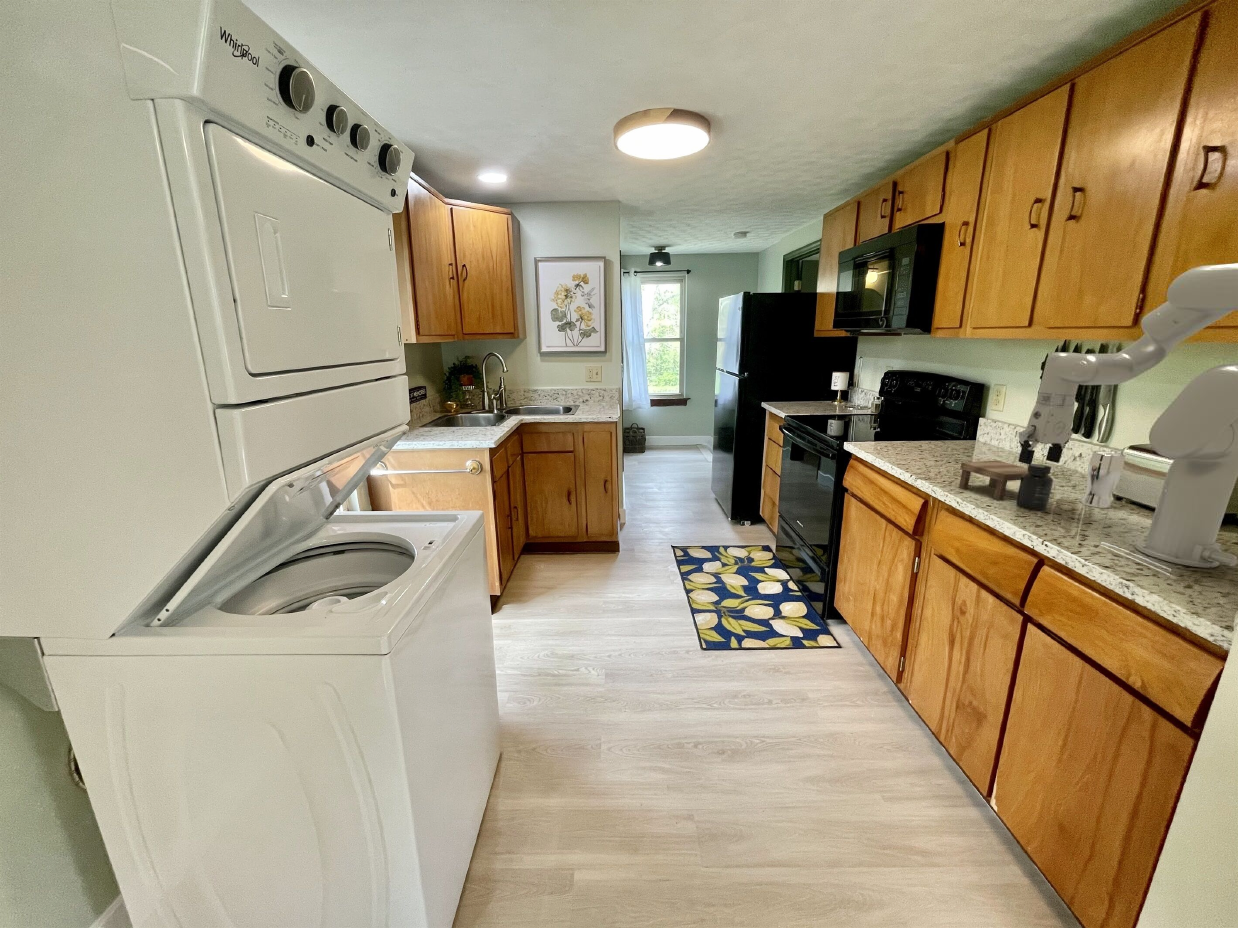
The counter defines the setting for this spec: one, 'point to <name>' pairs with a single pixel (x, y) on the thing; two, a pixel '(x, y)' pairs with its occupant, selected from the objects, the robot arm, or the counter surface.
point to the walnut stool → (992, 474)
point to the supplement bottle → (1035, 488)
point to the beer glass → (1102, 478)
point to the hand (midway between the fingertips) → (1038, 462)
